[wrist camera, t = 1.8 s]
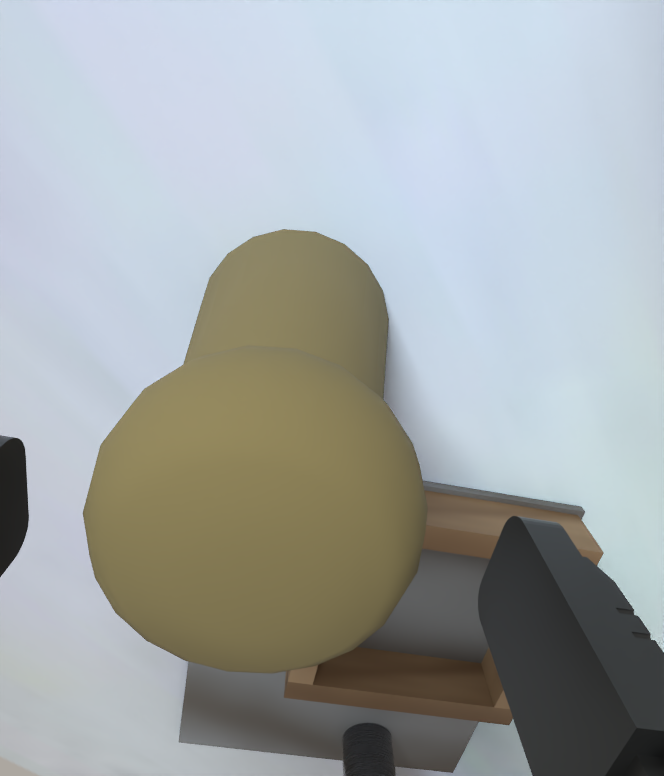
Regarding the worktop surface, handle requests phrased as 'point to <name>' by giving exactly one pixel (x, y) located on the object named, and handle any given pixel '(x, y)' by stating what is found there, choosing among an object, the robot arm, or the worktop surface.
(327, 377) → the olive rounded bulb piece
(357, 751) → the post
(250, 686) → the grey metal base plate
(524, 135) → the worktop surface
